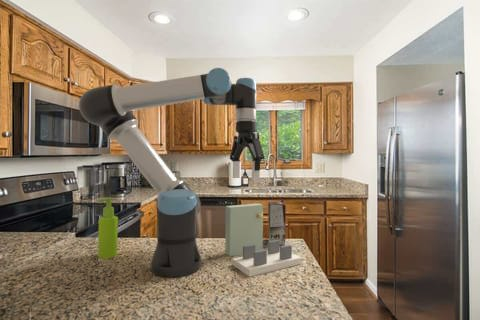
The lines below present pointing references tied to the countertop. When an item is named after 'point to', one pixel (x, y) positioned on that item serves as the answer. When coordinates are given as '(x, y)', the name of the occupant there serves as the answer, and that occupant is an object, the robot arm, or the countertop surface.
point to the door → (243, 228)
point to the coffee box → (276, 221)
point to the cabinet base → (266, 259)
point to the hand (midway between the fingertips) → (245, 179)
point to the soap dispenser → (107, 231)
